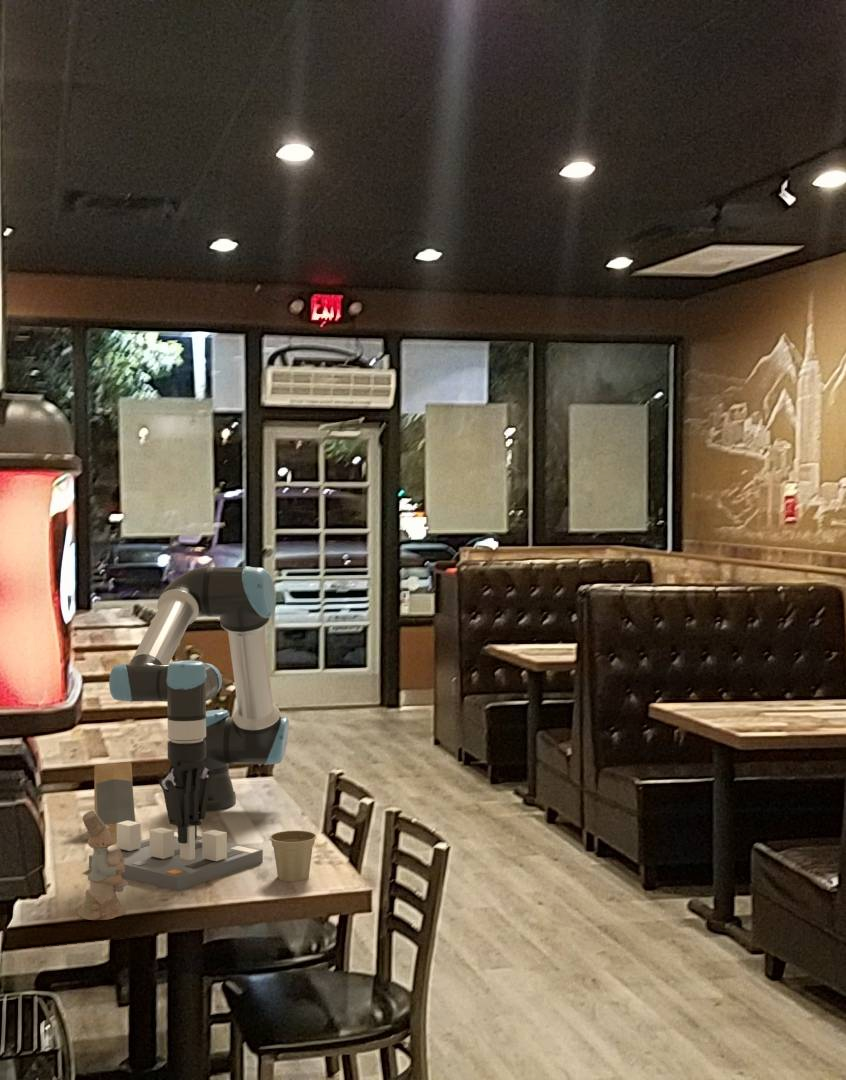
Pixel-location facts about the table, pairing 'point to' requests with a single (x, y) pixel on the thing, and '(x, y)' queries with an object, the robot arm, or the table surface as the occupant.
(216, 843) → the white upright block
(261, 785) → the table surface
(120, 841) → the side handle
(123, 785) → the sandwich container
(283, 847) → the flower pot
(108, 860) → the figurine
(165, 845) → the middle handle
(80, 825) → the table surface
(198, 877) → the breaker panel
